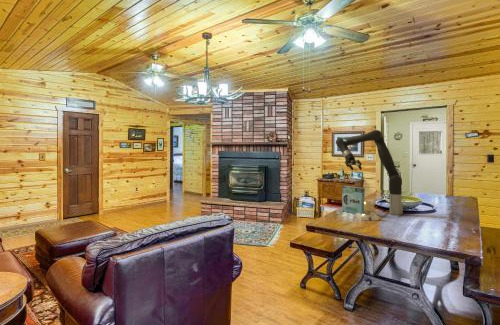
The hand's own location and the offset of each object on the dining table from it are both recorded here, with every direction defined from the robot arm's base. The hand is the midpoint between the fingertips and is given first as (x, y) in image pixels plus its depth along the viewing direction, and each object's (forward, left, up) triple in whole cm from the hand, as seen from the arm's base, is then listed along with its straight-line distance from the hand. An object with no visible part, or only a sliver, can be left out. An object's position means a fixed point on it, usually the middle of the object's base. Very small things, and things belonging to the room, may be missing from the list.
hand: (357, 169), depth 251 cm
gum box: (+3, -3, -39) cm, 39 cm away
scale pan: (-3, +17, -36) cm, 39 cm away
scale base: (-3, +17, -39) cm, 42 cm away
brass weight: (-3, +17, -35) cm, 39 cm away
